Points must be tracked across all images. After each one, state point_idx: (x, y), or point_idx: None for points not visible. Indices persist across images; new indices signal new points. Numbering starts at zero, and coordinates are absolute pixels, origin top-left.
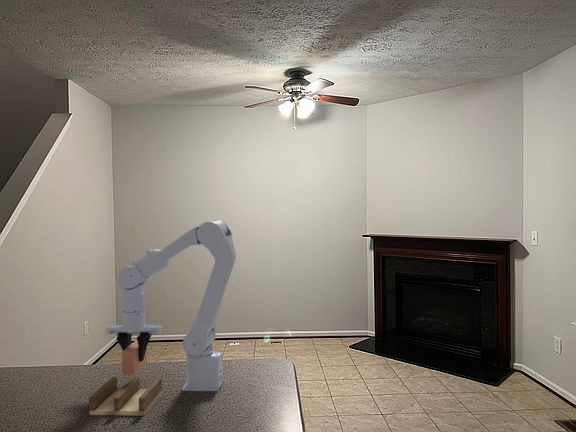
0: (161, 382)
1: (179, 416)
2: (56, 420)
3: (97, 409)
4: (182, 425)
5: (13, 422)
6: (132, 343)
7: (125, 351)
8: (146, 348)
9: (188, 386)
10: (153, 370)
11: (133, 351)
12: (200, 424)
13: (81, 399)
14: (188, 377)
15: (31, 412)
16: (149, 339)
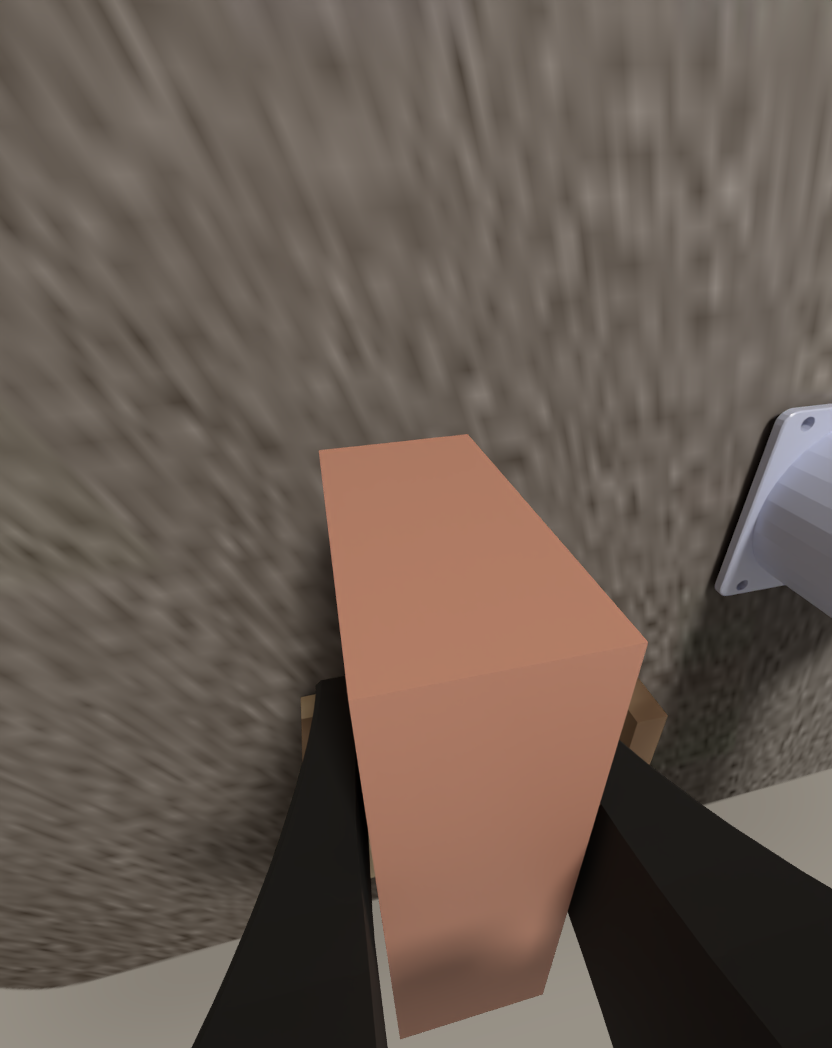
0: (645, 695)
1: (690, 766)
2: (220, 914)
3: (370, 871)
4: (698, 800)
5: (36, 974)
6: (378, 856)
7: (445, 1023)
8: (548, 545)
9: (763, 567)
10: (407, 134)
11: (542, 988)
12: (752, 781)
13: (155, 788)
14: (817, 605)
15: (13, 926)
16: (795, 873)
